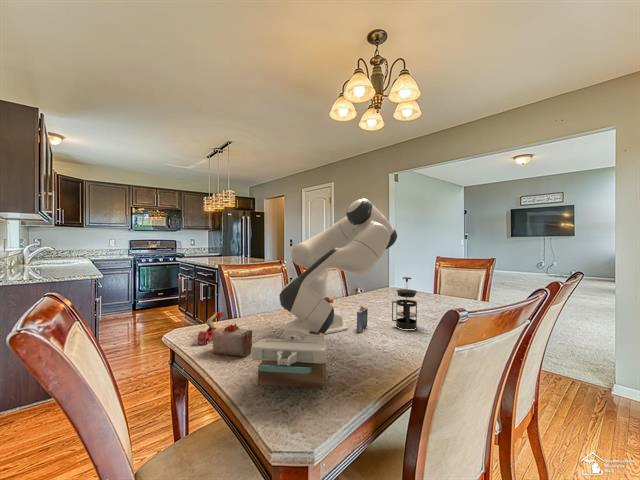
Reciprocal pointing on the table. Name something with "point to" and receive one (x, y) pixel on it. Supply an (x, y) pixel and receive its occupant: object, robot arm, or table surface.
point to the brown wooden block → (294, 376)
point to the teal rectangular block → (284, 369)
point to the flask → (362, 318)
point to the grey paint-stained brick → (232, 341)
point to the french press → (405, 309)
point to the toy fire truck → (209, 329)
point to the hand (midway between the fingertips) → (283, 363)
